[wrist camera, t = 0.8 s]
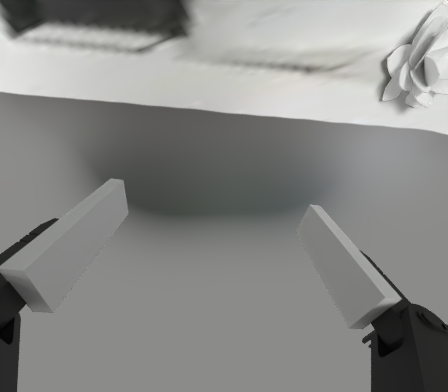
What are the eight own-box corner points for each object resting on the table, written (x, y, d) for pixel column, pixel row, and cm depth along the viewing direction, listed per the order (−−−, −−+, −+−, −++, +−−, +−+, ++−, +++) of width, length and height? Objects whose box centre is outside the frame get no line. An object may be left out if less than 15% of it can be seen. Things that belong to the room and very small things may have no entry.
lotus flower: (368, 117, 35) (408, 123, 28) (387, 20, 28) (449, -8, 20) (443, 99, 34) (507, 100, 27) (484, -8, 27) (589, -49, 19)
